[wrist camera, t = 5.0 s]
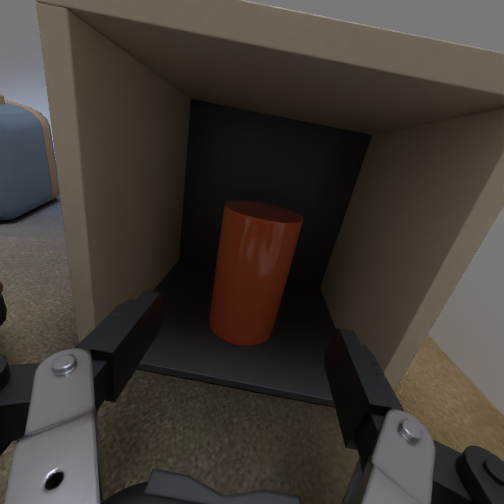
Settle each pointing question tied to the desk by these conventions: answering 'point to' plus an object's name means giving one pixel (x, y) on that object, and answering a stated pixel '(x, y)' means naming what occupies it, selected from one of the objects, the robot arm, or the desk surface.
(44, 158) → the blue rounded box
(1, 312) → the bomb
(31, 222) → the desk surface
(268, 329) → the glossy red cylinder
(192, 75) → the open cubby shelf
